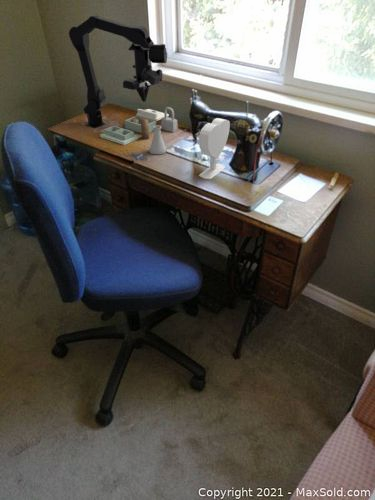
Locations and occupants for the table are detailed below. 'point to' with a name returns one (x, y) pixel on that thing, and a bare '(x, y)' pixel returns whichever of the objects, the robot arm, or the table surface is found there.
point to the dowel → (144, 129)
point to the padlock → (169, 121)
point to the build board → (119, 135)
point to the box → (138, 124)
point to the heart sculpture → (213, 144)
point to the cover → (150, 114)
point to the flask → (157, 142)
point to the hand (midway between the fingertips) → (144, 101)
